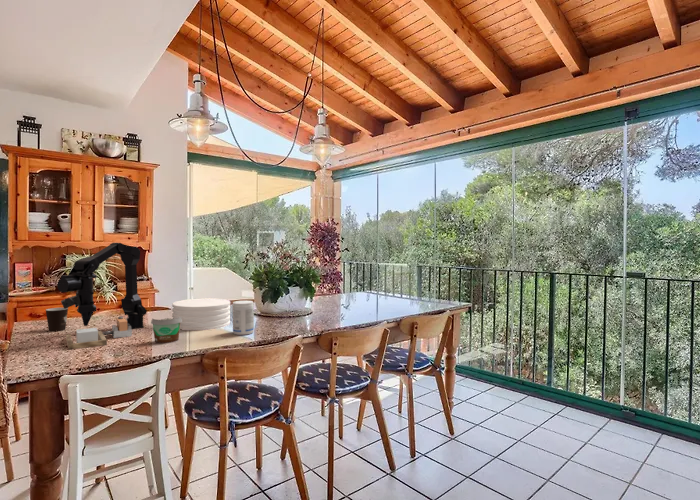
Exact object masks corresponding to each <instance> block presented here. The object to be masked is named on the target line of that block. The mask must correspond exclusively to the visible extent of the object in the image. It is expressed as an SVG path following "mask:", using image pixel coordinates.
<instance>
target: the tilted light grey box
mask: <svg viewBox="0 0 700 500" xmlns="http://www.w3.org/2000/svg"><path fill="white" fill-rule="evenodd" d="M75 331H76V332H75V333H76V334H75V336H76V339H75V343H83V342H91V341H99V338H98V331H99V330H98V328H97V327H90V328H81V329H76V330H75Z"/></svg>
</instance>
